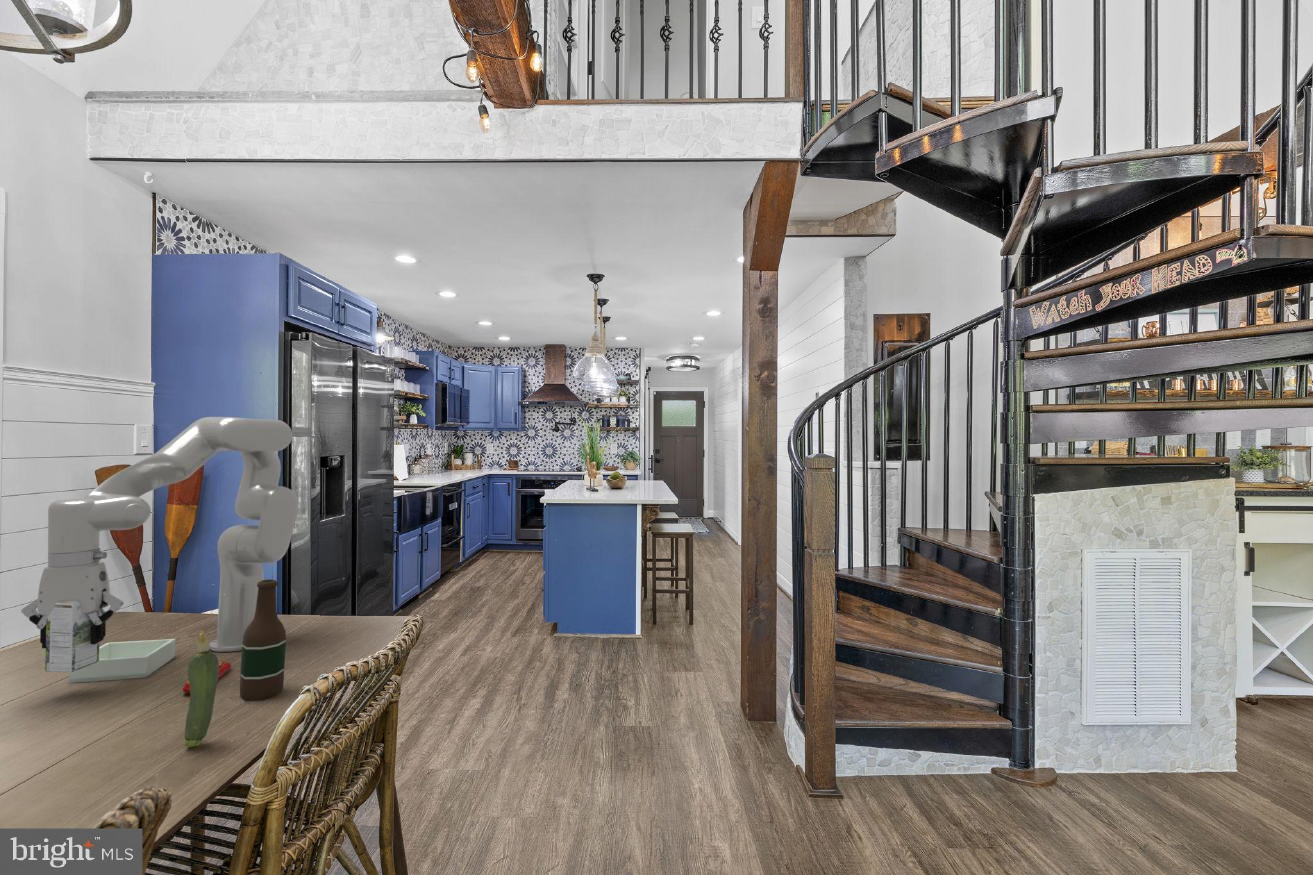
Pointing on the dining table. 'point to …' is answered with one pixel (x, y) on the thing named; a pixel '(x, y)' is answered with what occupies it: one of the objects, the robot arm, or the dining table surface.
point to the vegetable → (201, 692)
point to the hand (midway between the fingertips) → (73, 643)
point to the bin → (126, 660)
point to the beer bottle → (263, 648)
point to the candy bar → (222, 671)
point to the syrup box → (69, 638)
